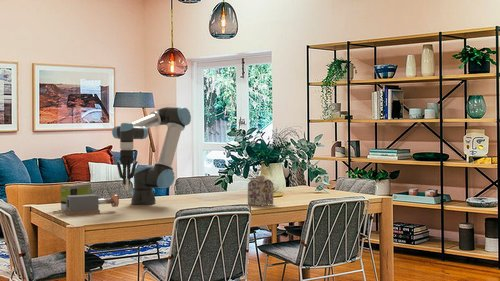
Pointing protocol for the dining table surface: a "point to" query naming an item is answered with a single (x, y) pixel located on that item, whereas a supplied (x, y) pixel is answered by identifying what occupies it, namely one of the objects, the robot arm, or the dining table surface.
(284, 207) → the dining table surface
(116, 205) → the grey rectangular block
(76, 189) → the tea box
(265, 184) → the decorative jar
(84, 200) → the block
